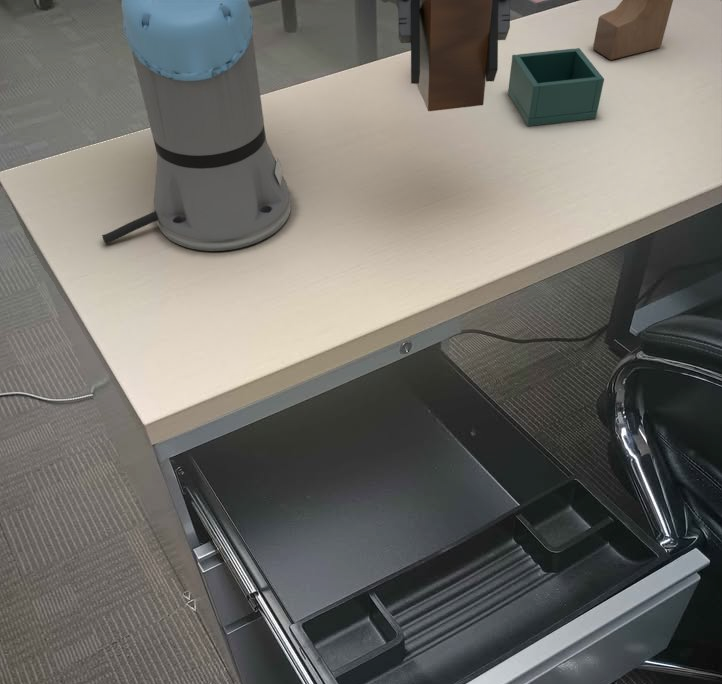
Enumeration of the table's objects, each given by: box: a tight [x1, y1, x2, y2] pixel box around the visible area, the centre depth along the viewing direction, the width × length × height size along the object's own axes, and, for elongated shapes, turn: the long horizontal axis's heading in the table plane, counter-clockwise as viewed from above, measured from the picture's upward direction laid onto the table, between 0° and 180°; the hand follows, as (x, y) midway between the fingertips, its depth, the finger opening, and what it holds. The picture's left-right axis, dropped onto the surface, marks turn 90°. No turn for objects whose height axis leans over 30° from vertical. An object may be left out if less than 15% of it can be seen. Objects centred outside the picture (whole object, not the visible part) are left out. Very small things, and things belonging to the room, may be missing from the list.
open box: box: [507, 47, 605, 127], centre depth 99 cm, size 9×9×5 cm
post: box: [416, 0, 492, 112], centre depth 71 cm, size 6×6×11 cm
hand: (453, 76), depth 71 cm, fingers closed on post, 6 cm apart
